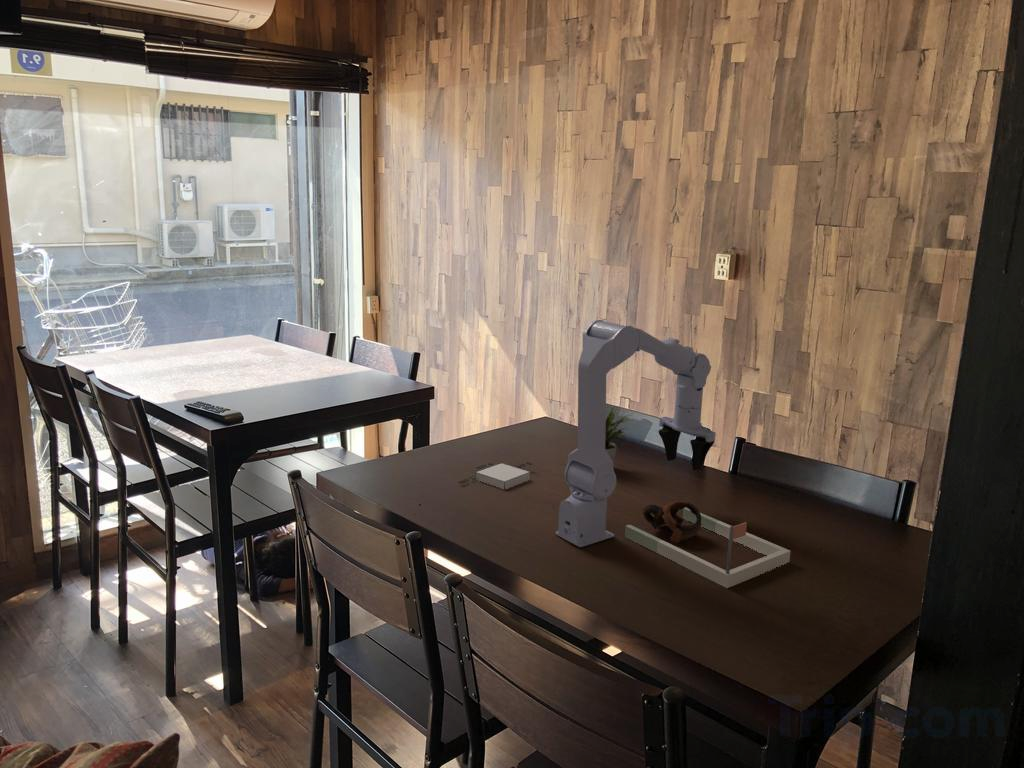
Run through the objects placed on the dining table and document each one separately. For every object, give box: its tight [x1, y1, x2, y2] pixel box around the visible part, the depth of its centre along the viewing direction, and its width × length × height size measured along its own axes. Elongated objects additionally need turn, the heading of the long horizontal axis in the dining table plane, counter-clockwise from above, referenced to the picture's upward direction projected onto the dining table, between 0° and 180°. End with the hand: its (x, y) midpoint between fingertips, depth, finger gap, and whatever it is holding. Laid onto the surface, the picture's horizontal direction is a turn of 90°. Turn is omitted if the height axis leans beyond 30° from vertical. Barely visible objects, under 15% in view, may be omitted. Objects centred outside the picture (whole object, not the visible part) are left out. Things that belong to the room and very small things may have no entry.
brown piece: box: [642, 500, 702, 544], centre depth 166 cm, size 12×10×8 cm
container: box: [457, 461, 533, 491], centre depth 196 cm, size 20×11×3 cm, turn 139°
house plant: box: [605, 406, 632, 462], centre depth 202 cm, size 14×14×16 cm
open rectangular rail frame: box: [624, 507, 791, 589], centre depth 158 cm, size 18×26×12 cm
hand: (683, 464), depth 179 cm, fingers open, 7 cm apart
